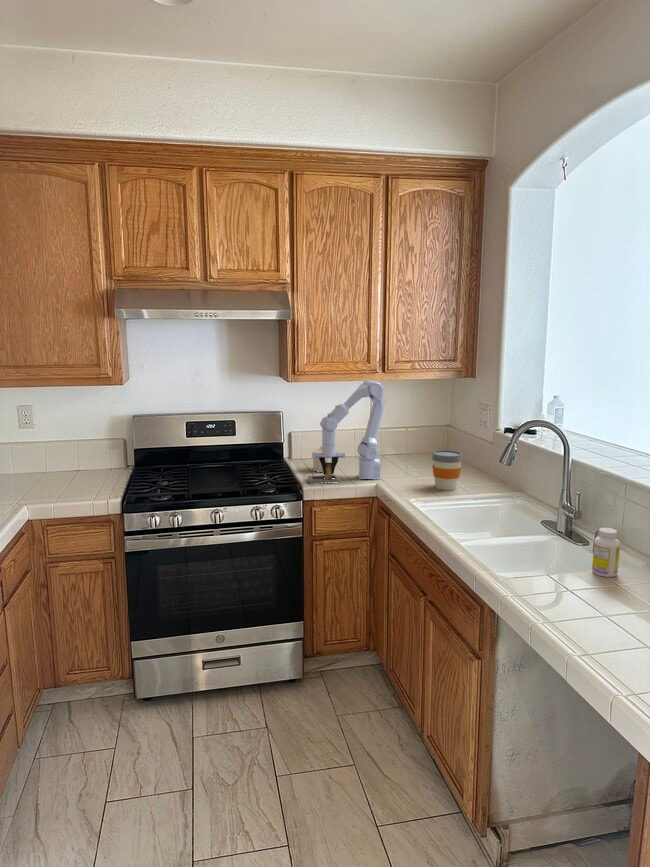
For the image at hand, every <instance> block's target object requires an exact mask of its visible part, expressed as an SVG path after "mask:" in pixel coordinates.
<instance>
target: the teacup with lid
mask: <svg viewBox="0 0 650 867" xmlns="http://www.w3.org/2000/svg"><path fill="white" fill-rule="evenodd" d="M313 453H322V445H320V448H318V449H316V450H313V452H312V454H313ZM312 462H313V464H312V465H313V466H312V467H313V470H312V471H314V470H315V471H319V472H318V473H320V472H323V468H322V465H321V462H320V460H319V458H315V459H313V461H312ZM326 462H330V463H332V458H325V463H326ZM315 471H314V472H315Z"/></svg>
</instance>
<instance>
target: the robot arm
mask: <svg viewBox="0 0 650 867" xmlns="http://www.w3.org/2000/svg"><path fill="white" fill-rule="evenodd" d="M384 391H385V387H383V384H381V382H379V381H374V380H371V379H367V380H365V381H363V383H361V384H360V385H359V386H358V387H357V388H356V390H355V391H354V392H353V393H352V394H351V395H350V396H349V397H348V398H347V399H346V401H344V403H339V404H338V405H337V404H336V405H335V406H334V409H333V410H332V411H331V412H330V413H327V416H324V417H323V418H322V419H321V420H320V422H319V425H320V427H321V431H322V432H321V446H322V453H313V452H312V453H311V458H312V459H315V458H319V460H320V462H321V465H322V468H323V473H322V474H323V475H325V458H331V463H332V475H335V468H336V466H337V464H338V462H339V459H340V458H341V459H346V453H345V452H336V429H337V428H338V425H339V424H340V422H342V420H343V419H345V417H346V416H348V414H349V410H350V409H351V408H352V407H353V406H355V404H357V403H358V402H359V401H361V400H362V398H363V399H364V398H370V399H369V400H371V402H372V406H371V410H370V413H369V418H368V422H367V426H366V429H365V434H364V436H363V437H362V438H361V441H360V443H359V444H358V446H357V453H358V454H359V458H358V459H359V461H358V464H359V465H358V474H357V475H358V476H357V478H358V477H359V478H358V479H359V480H360V479H373V480H381V461H380V458H376V457H377V456H378V446H379V445H378V444H379V443H378V441H377V437H378V435H379V434H378V433H379V430H380V426H381V422H382V417H383V414H384V410H385V405H386V396H385V392H384Z"/></svg>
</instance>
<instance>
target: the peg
mask: <svg viewBox="0 0 650 867" xmlns="http://www.w3.org/2000/svg"><path fill="white" fill-rule="evenodd" d="M332 475H333V474H332V462H331V463H330V462H326V463H325V479H332Z"/></svg>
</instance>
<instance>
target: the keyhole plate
mask: <svg viewBox="0 0 650 867" xmlns="http://www.w3.org/2000/svg"><path fill="white" fill-rule="evenodd" d="M324 478H325V475H324V474H323V475H307V481H308V480H309V481H308V484H309V483H321V482H323V483H325V482H327V484H329V483H328V482H339V483H340V480H339V477H338V476H337V475H336V474H332V478H335V479H324Z"/></svg>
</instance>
